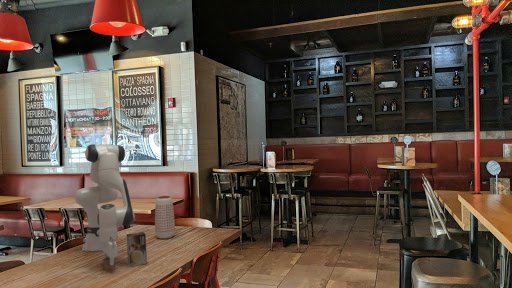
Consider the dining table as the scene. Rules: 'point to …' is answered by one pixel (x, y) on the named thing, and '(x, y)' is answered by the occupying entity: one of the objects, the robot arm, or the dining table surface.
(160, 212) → the grey textured vase
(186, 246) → the dining table surface
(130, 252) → the coffee box
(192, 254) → the dining table surface
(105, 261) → the walnut block
